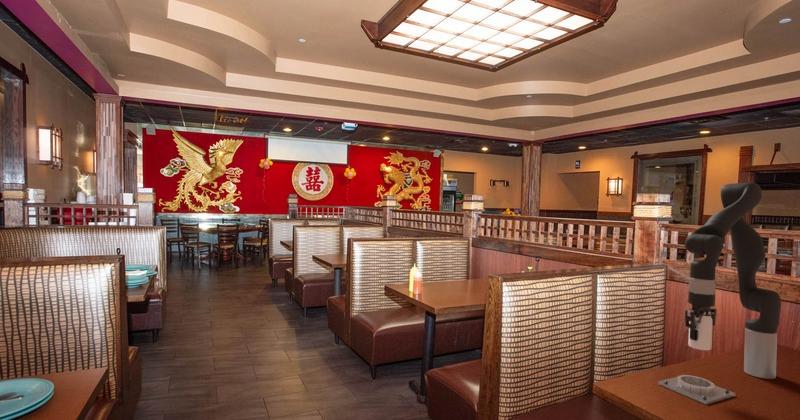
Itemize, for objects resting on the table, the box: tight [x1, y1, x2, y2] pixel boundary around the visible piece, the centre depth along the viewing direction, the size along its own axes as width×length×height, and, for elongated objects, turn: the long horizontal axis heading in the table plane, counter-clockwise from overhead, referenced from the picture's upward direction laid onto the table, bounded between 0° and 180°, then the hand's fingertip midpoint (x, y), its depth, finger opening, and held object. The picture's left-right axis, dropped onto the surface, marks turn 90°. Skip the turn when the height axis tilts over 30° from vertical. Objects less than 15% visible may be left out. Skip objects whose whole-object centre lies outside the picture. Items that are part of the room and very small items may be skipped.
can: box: [687, 314, 713, 352], centre depth 140 cm, size 6×6×12 cm
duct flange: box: [657, 374, 736, 406], centre depth 141 cm, size 16×16×3 cm
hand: (699, 338), depth 140 cm, fingers closed on can, 6 cm apart
